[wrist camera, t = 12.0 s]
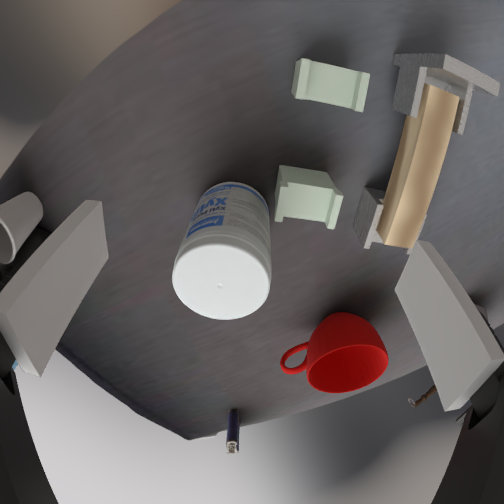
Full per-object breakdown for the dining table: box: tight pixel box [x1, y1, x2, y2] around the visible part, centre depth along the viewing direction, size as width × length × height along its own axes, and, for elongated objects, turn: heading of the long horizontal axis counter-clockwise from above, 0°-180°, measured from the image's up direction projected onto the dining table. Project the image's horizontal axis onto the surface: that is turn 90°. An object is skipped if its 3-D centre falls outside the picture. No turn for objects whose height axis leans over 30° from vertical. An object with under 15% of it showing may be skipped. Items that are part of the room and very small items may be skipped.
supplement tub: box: [172, 182, 271, 319], centre depth 35 cm, size 10×10×15 cm
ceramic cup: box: [280, 312, 388, 393], centre depth 48 cm, size 13×17×10 cm
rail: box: [376, 84, 459, 249], centre depth 31 cm, size 4×19×4 cm, turn 173°
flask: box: [226, 409, 240, 454], centre depth 67 cm, size 9×3×11 cm, turn 0°
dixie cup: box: [0, 192, 43, 264], centre depth 36 cm, size 8×8×10 cm
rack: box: [274, 58, 370, 229], centre depth 32 cm, size 7×17×8 cm, turn 173°
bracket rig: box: [353, 53, 500, 255], centre depth 30 cm, size 7×24×12 cm, turn 173°
